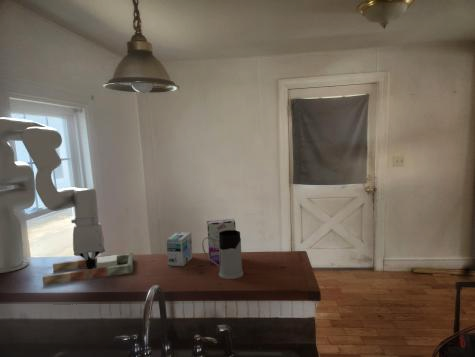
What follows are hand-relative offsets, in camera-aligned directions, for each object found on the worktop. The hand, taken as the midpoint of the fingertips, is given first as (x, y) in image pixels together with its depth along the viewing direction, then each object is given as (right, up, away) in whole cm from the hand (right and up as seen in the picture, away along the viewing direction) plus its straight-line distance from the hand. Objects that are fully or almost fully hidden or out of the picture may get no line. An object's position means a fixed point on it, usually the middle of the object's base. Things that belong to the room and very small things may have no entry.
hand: (91, 268), depth 115 cm
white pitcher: (+50, 0, -6) cm, 51 cm away
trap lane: (0, -1, 0) cm, 1 cm away
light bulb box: (+32, 0, +8) cm, 33 cm away
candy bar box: (+49, +1, +7) cm, 50 cm away
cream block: (+5, -1, +3) cm, 6 cm away
